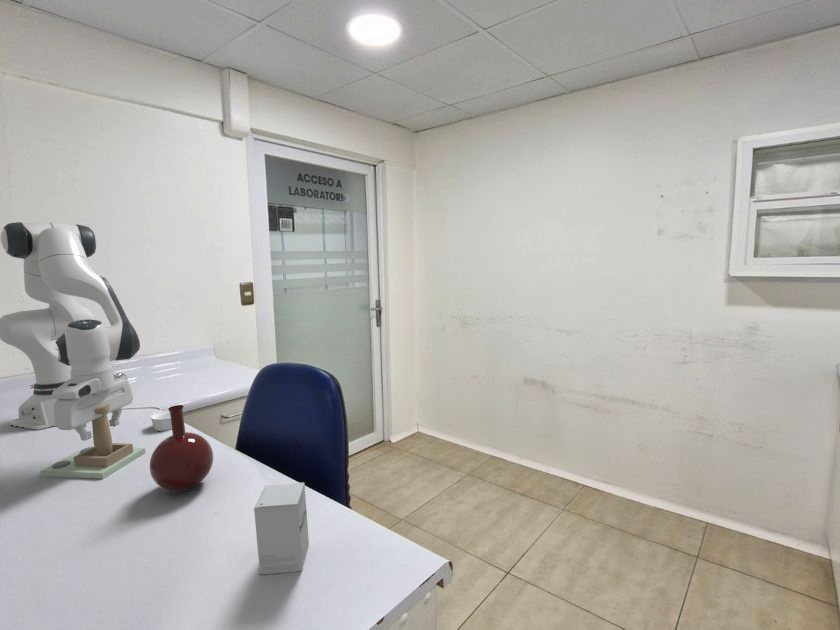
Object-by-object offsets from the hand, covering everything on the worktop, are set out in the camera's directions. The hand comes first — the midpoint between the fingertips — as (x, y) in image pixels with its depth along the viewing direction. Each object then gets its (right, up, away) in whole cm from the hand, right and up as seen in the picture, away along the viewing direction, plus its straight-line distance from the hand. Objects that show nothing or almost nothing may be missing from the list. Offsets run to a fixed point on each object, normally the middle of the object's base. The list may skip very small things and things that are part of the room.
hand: (101, 432), depth 113 cm
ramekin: (+2, -6, +26) cm, 27 cm away
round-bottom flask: (+29, -10, -11) cm, 33 cm away
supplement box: (+61, -13, -37) cm, 72 cm away
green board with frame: (-3, -9, +2) cm, 10 cm away
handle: (0, -8, +1) cm, 8 cm away
